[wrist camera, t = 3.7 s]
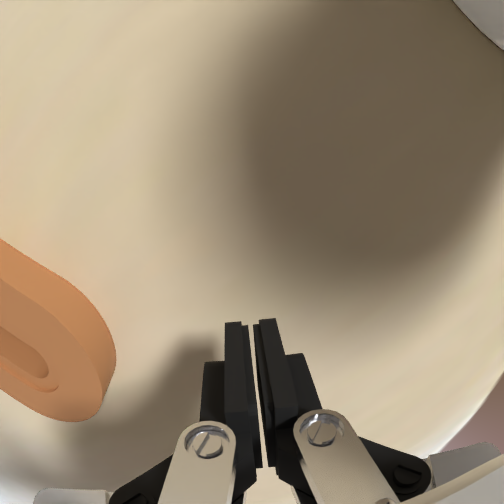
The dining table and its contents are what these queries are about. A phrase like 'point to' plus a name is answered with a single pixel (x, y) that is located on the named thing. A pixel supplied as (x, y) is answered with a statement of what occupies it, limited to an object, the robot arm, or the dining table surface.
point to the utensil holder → (486, 17)
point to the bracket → (51, 341)
